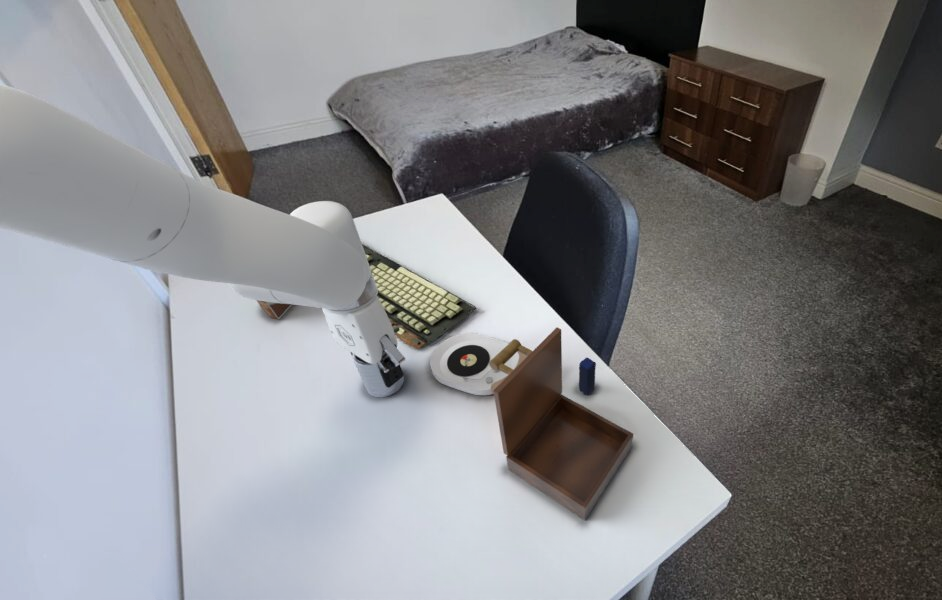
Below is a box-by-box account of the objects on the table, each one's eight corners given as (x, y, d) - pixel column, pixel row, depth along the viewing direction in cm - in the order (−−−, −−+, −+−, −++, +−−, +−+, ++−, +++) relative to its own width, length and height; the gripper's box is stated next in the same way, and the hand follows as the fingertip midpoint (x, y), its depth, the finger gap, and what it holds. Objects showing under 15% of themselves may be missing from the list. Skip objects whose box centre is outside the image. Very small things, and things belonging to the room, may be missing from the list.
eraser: (587, 397, 78) (588, 369, 74) (577, 389, 79) (578, 362, 75) (595, 389, 79) (597, 362, 75) (585, 382, 80) (587, 355, 76)
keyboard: (478, 312, 93) (476, 302, 91) (418, 356, 84) (415, 346, 82) (344, 235, 112) (341, 226, 111) (284, 264, 103) (279, 255, 102)
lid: (561, 329, 64) (530, 314, 67) (498, 393, 56) (464, 373, 58) (562, 392, 74) (534, 377, 76) (507, 456, 65) (478, 437, 67)
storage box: (631, 447, 71) (633, 433, 69) (584, 520, 63) (585, 508, 60) (560, 407, 76) (560, 393, 74) (508, 469, 68) (506, 456, 66)
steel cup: (382, 403, 76) (368, 370, 71) (358, 386, 79) (343, 354, 73) (411, 379, 80) (400, 346, 75) (387, 364, 82) (375, 331, 77)
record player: (521, 400, 73) (414, 364, 79) (522, 412, 75) (418, 377, 81) (551, 349, 82) (453, 320, 87) (552, 361, 84) (455, 332, 89)
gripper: (284, 280, 66) (327, 364, 78) (364, 328, 60) (398, 412, 72) (331, 254, 71) (365, 337, 83) (410, 296, 64) (435, 380, 76)
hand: (380, 371), depth 77 cm, fingers open, 6 cm apart
